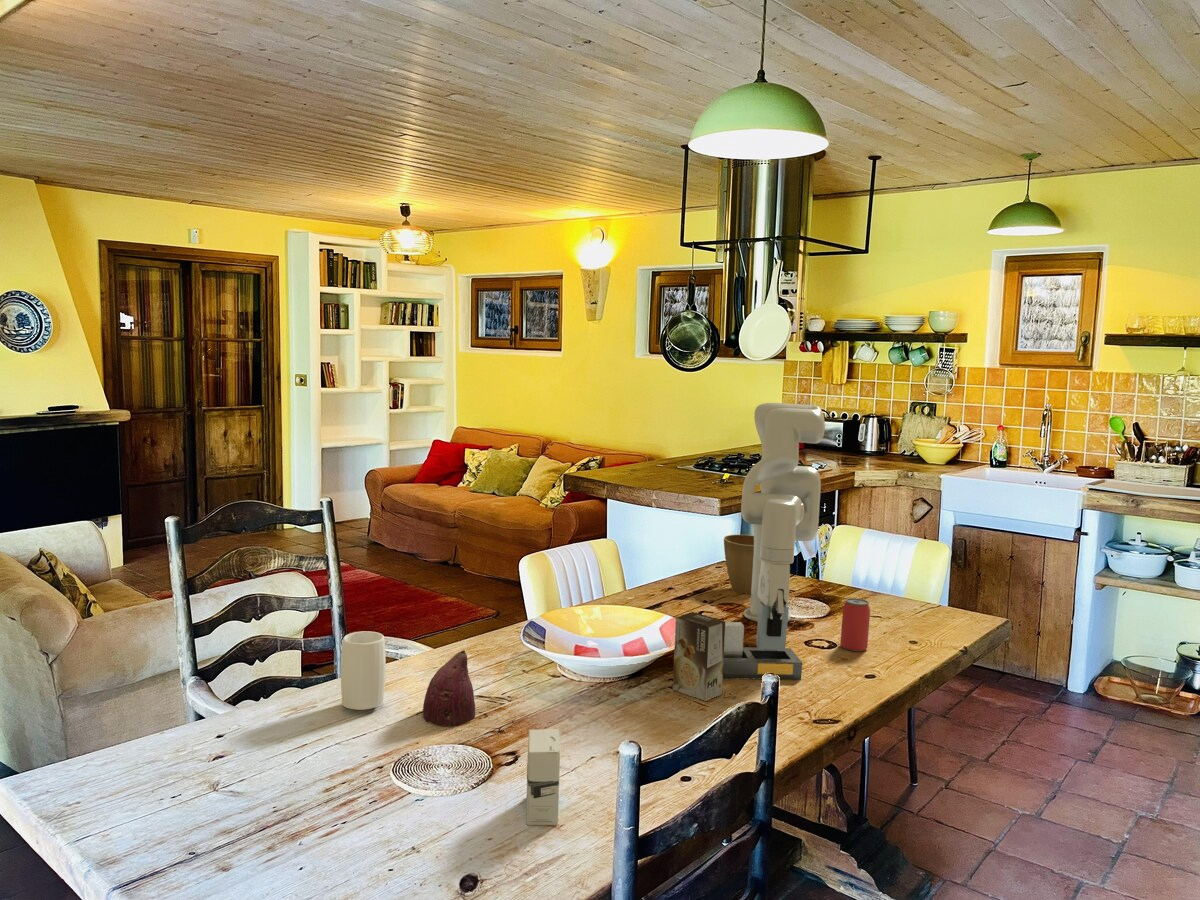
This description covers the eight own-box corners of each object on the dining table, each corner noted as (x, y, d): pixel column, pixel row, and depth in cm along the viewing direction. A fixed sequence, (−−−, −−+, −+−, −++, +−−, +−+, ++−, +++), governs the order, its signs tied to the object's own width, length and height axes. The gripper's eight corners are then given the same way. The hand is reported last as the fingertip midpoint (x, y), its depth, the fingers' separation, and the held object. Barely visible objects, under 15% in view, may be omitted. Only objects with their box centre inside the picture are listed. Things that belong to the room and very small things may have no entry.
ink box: (525, 798, 144) (528, 727, 143) (556, 798, 145) (559, 727, 143) (525, 826, 136) (528, 751, 134) (558, 826, 136) (561, 751, 135)
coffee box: (723, 694, 191) (727, 621, 189) (705, 702, 186) (709, 627, 185) (688, 682, 197) (692, 611, 196) (670, 689, 193) (674, 616, 191)
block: (755, 644, 206) (759, 602, 205) (781, 645, 207) (785, 603, 206) (759, 649, 204) (762, 605, 202) (785, 650, 204) (788, 606, 203)
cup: (370, 695, 182) (371, 627, 181) (393, 708, 176) (394, 638, 175) (332, 706, 176) (332, 636, 175) (354, 720, 170) (355, 647, 169)
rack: (696, 663, 210) (699, 617, 208) (790, 664, 211) (793, 619, 210) (704, 678, 200) (707, 630, 199) (802, 680, 202) (806, 632, 200)
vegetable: (480, 726, 178) (503, 655, 177) (455, 740, 168) (480, 665, 167) (435, 704, 181) (458, 634, 180) (408, 716, 171) (433, 643, 170)
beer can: (864, 644, 229) (868, 598, 227) (869, 653, 222) (873, 605, 221) (838, 642, 229) (841, 596, 228) (842, 651, 223) (846, 603, 221)
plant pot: (719, 595, 269) (722, 542, 267) (721, 582, 284) (724, 532, 282) (770, 599, 267) (773, 546, 265) (769, 586, 281) (772, 536, 279)
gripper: (752, 546, 211) (747, 622, 213) (769, 562, 195) (764, 644, 197) (783, 546, 211) (778, 623, 213) (803, 563, 195) (797, 645, 197)
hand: (771, 632), depth 205 cm, fingers closed on block, 3 cm apart
